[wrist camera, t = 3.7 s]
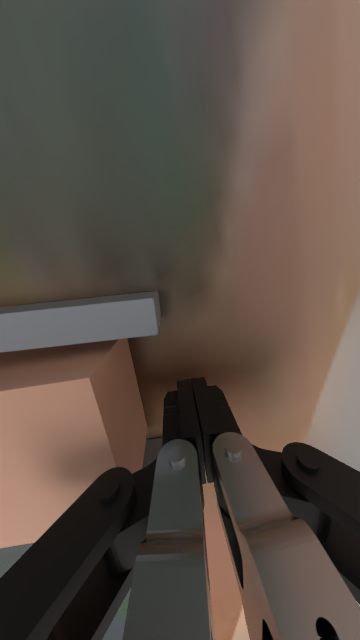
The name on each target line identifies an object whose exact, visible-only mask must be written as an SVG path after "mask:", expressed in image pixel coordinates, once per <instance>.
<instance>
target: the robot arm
mask: <svg viewBox="0 0 360 640" xmlns="http://www.w3.org/2000/svg"><path fill="white" fill-rule="evenodd" d="M191 384H192V386H191ZM177 388H178V390H177V391H169V392H168V393H167V395H166V396H165V398H164V413H163V414H164V415H163V437H162V448H161V449H160V451H159V453H158V456H157V458H156V459H155V460H154V461H153V462H152V463H151V464H149V465H148V466H146V467H145V468H143V469H141V470H139V471H137V472H135V473H133V474H131V472H130V471H129V470H128V469H126V468H124V467H115V468H111V469H109V470H107V471H105V472H104V473H102V474H101V475H100V476H99V477H98V478H97V479H96V480H95V481H94V482H93V483H92V484H91V485H90V486H89V487H88V488H87V489H86V490H85V491H84V492H83V493H82V494H81V495H80V496H79V497H78V499H77V500H76V501H75V502H74V503H73V504H72V505H71V506H70V507H69V508H68V509H67V510H66V511H65V512H64V513H63V514H62V515H61V516H60V517H59V518H58V519H57V520H56V521H55V522H54V523H53V524H52V525H51V526H50V528H49V529H48V530H47V531H46V532H45V533H44V534H43V535H42V536H41V537H40V538H39V539H38V540H37V541H36V542H35V543H34V544H33V545H32V546H31V547H30V548H29V549H28V550H27V551H26V552H25V553H24V554H23V555H22V557H21V558H20V559H19V560H18V561H17V562H16V563H15V564H14V565H13V566H12V567H11V568H10V569H9V570H8V571H7V572H6V573H5V574H4V575H3V576H2V577H1V578H0V640H102V638H103V637H104V635H105V633H106V631H107V629H108V628H109V626H110V624H111V622H112V620H113V618H114V617H115V615H116V613H117V611H118V609H119V607H120V606H121V604H122V602H123V600H124V598H125V596H126V595H127V593H128V591H129V589H130V587H131V591H130V597H129V603H128V609H127V615H126V621H125V627H124V633H123V639H122V640H215V638H214V627H213V616H212V606H211V595H210V583H209V571H208V559H207V548H206V536H205V524H204V512H203V511H204V495H203V486H202V484H205V483H206V477H205V471H206V476H207V481H208V483H211V482H214V486H215V491H216V496H217V507H218V511H219V515H220V519H221V522H222V526H223V530H224V534H225V537H226V541H227V545H228V549H229V552H230V556H231V560H232V564H233V567H234V571H235V575H236V579H237V582H238V586H239V590H240V594H241V598H242V603H243V608H244V613H245V619H246V624H247V628H248V633H249V637H250V640H360V607H359V605H358V603H359V604H360V472H359V471H357V470H355V469H353V468H351V467H349V466H348V465H346V464H344V463H342V462H340V461H338V460H337V459H334V458H333V457H331V456H329V455H327V454H325V453H323V452H321V451H320V450H318V449H316V448H314V447H312V446H310V445H307V444H304V443H298V442H294V443H290V444H287V445H286V446H285V447H284V448H283V451H282V453H281V452H276V451H270V450H265V449H261V448H258V447H256V446H254V445H252V444H251V443H250V441H249V440H248V439H247V438H245V437H244V436H243V435H242V433H241V432H240V429H239V427H238V425H237V423H236V420H235V418H234V416H233V414H232V412H231V409H230V407H229V405H228V403H227V400H226V398H225V396H224V394H223V392H222V390H221V389H219V388H218V387H217V386H216V385H214V386H207V383H206V380H205V378H204V377H200V378H192V379H191V381H190V379H185V380H178V381H177ZM204 465H205V467H204ZM356 601H357V602H358V603H357V602H356ZM320 637H321V638H320Z"/></svg>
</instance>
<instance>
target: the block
mask: <svg viewBox="0 0 360 640" xmlns="http://www.w3.org/2000/svg"><path fill="white" fill-rule="evenodd" d="M147 430H148V427H147V423H146V419H145V414H144V410H143V405H142V401H141V397H140V392H139V388H138V383H137V379H136V375H135V370H134V366H133V361H132V357H131V352H130V348H129V344H128V339H127V338H125V339H116V340H108V341H99V342H90V343H81V344H72V345H63V346H54V347H45V348H36V349H27V350H18V351H9V352H0V548H4V547H10V546H16V545H22V544H28V543H34V542H36V541H37V540H38V539H39V538H40V537H41V536H42V535H43V534H44V533H45V532H46V531H47V530H48V529H49V528H50V526H51V525H52V524H53V523H54V522H55V521H56V520H57V519H58V518H59V517H60V516H61V515H62V514H63V513H64V512H65V511H66V510H67V509H68V508H69V507H70V506H71V505H72V504H73V503H74V502H75V501H76V500H77V499H78V497H79V496H80V495H81V494H82V493H83V492H84V491H85V490H86V489H87V488H88V487H89V486H90V485H91V484H92V483H93V482H94V481H95V480H96V479H97V478H98V477H99V476H100V475H101V474H102V473H104V472H105V471H107V470H109V469H111V468H115V467H124V468H126V469H128V470H129V471H130V472H131V474H133V473H135V472H137V471H139V470H141V469H142V466H143V459H144V452H145V445H146V437H147Z"/></svg>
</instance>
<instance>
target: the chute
mask: <svg viewBox="0 0 360 640" xmlns="http://www.w3.org/2000/svg"><path fill="white" fill-rule="evenodd" d="M160 322H161V311H160V303H159V295H158V291H150V292H141V293H131V294H121V295H112V296H102V297H93V298H83V299H73V300H64V301H54V302H45V303H35V304H25V305H16V306H6V307H0V352H9V351H18V350H27V349H36V348H45V347H54V346H63V345H72V344H81V343H90V342H99V341H108V340H116V339H125V338H134V337H143V336H152V335H158V333H159V328H160ZM161 448H162V438H155V439H147V440H146V445H145V452H144V459H143V466H142V469H143V468H145V467H146V466H148V465H149V464H151V463H152V462H153V461H154V460H155V459H156V458H157V456H158V453H159V451H160V449H161Z"/></svg>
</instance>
